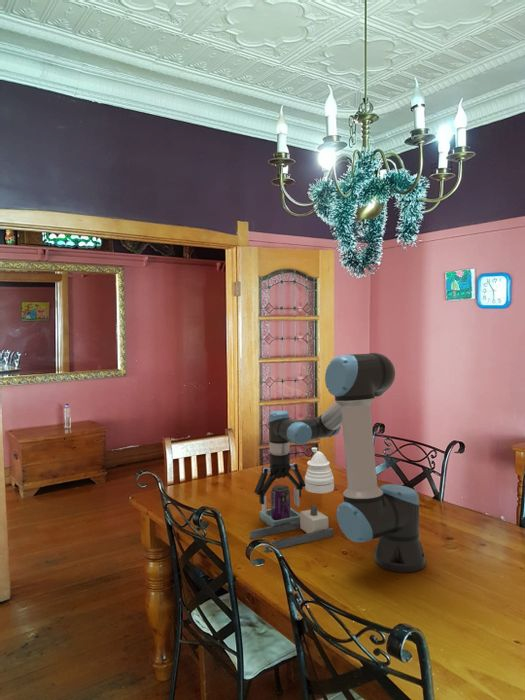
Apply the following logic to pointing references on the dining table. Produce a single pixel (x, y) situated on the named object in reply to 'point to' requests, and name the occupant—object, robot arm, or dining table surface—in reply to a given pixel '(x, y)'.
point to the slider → (313, 520)
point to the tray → (269, 521)
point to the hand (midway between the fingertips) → (280, 509)
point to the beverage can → (280, 502)
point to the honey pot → (319, 474)
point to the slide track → (291, 540)
